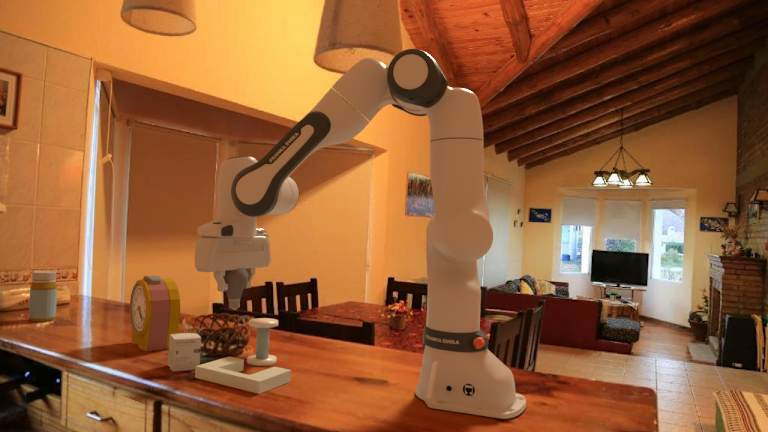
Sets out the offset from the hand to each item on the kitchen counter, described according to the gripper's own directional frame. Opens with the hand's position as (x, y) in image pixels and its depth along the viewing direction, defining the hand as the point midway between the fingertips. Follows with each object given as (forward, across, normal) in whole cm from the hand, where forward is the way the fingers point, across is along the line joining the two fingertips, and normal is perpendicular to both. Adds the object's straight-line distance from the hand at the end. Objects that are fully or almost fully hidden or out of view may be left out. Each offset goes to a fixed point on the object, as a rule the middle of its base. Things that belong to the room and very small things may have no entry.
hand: (234, 289), depth 121 cm
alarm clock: (+18, -4, -33) cm, 38 cm away
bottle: (+18, -3, -83) cm, 85 cm away
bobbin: (+19, -10, 0) cm, 21 cm away
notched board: (+19, +3, +6) cm, 20 cm away
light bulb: (+4, 0, 0) cm, 5 cm away
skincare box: (+19, +4, -11) cm, 22 cm away
